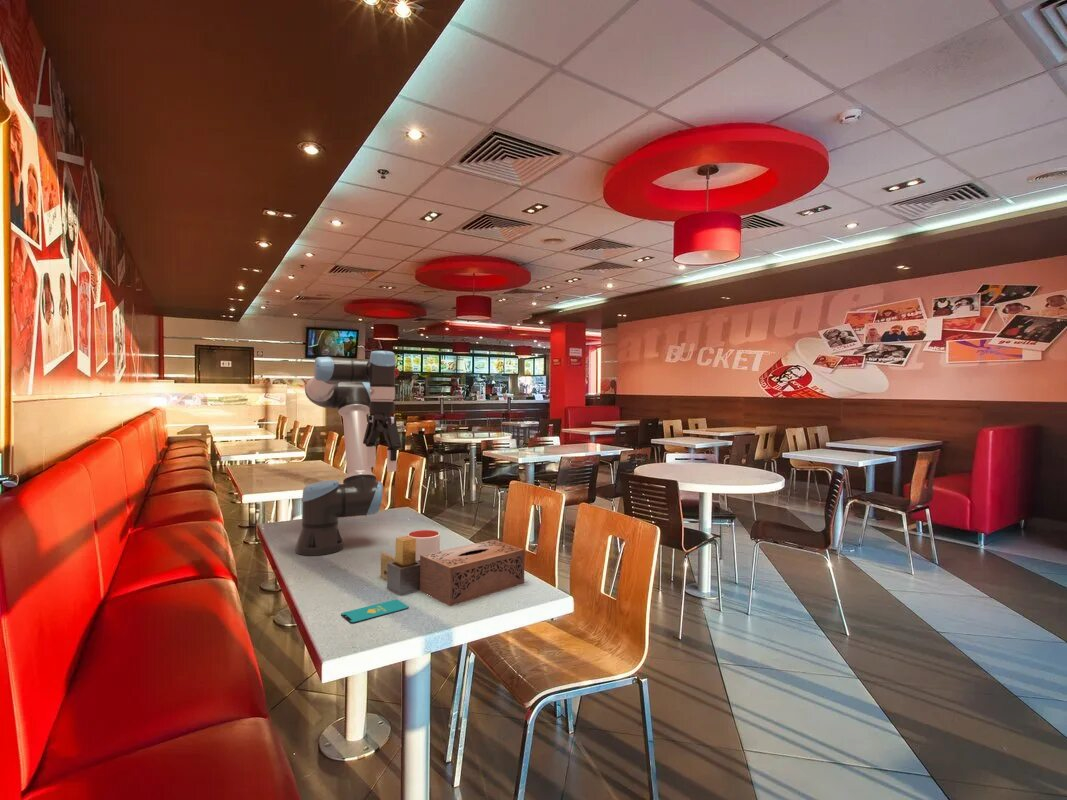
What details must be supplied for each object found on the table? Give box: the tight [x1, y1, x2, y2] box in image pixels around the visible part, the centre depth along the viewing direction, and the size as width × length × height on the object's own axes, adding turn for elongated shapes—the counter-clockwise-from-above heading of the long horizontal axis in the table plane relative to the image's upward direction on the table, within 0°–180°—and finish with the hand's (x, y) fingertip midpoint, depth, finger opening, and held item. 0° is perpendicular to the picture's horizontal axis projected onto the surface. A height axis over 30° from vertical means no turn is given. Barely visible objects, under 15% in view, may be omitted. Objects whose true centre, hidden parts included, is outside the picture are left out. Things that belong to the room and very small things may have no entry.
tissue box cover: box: [419, 539, 526, 607], centre depth 149 cm, size 26×14×10 cm, turn 133°
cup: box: [407, 529, 441, 561], centre depth 168 cm, size 10×10×10 cm
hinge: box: [380, 552, 420, 596], centre depth 153 cm, size 17×17×7 cm
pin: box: [394, 535, 416, 568], centre depth 146 cm, size 4×4×11 cm
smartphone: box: [340, 599, 410, 625], centre depth 130 cm, size 7×1×15 cm
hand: (381, 469), depth 164 cm, fingers open, 13 cm apart
